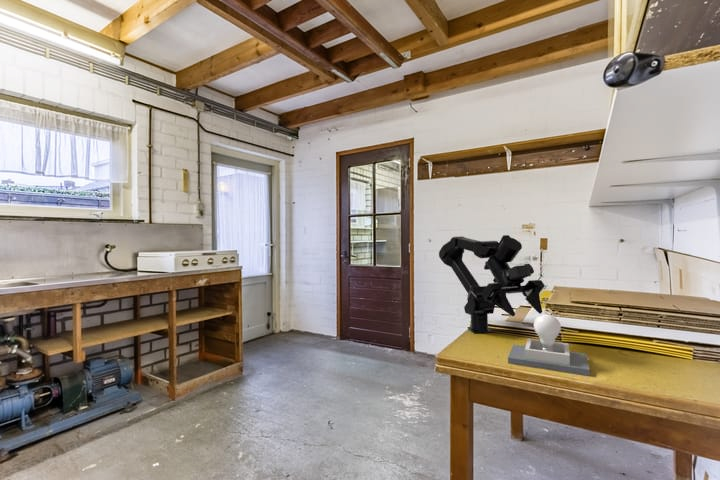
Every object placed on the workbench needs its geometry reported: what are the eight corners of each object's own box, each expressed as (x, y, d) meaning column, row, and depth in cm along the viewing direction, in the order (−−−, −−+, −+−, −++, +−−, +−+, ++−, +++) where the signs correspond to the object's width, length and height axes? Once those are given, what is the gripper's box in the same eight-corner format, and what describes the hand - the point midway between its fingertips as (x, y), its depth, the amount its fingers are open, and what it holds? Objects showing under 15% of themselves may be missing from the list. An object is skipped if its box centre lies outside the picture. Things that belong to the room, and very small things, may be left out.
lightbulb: (530, 355, 90) (529, 314, 90) (539, 349, 95) (538, 310, 94) (556, 361, 86) (555, 318, 85) (564, 355, 90) (563, 314, 90)
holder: (508, 363, 89) (507, 348, 89) (513, 349, 100) (513, 336, 100) (589, 376, 80) (589, 359, 80) (586, 359, 90) (585, 344, 90)
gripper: (486, 256, 99) (513, 300, 88) (539, 253, 103) (570, 295, 93) (472, 279, 107) (494, 322, 96) (521, 276, 111) (548, 317, 101)
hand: (527, 314), depth 96 cm, fingers open, 9 cm apart
